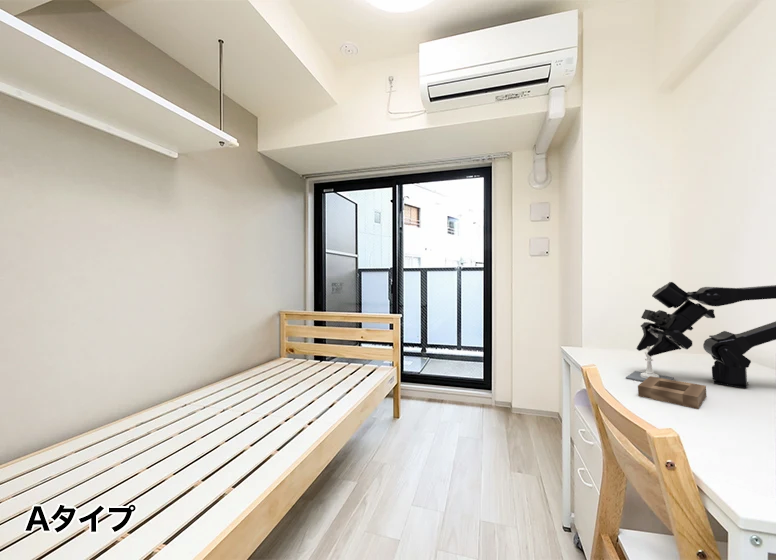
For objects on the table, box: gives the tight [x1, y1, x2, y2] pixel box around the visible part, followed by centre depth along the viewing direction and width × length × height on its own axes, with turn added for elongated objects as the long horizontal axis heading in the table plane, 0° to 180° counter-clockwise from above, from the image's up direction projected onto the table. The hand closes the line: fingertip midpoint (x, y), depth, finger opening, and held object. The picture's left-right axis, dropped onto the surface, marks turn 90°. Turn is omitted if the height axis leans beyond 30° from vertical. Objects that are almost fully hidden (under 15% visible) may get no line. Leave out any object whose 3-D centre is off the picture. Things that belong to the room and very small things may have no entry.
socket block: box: [637, 376, 707, 410], centre depth 85 cm, size 12×12×3 cm
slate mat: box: [625, 370, 675, 383], centre depth 100 cm, size 10×10×1 cm
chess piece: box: [640, 346, 660, 379], centre depth 100 cm, size 5×5×10 cm
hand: (643, 352), depth 101 cm, fingers open, 7 cm apart
